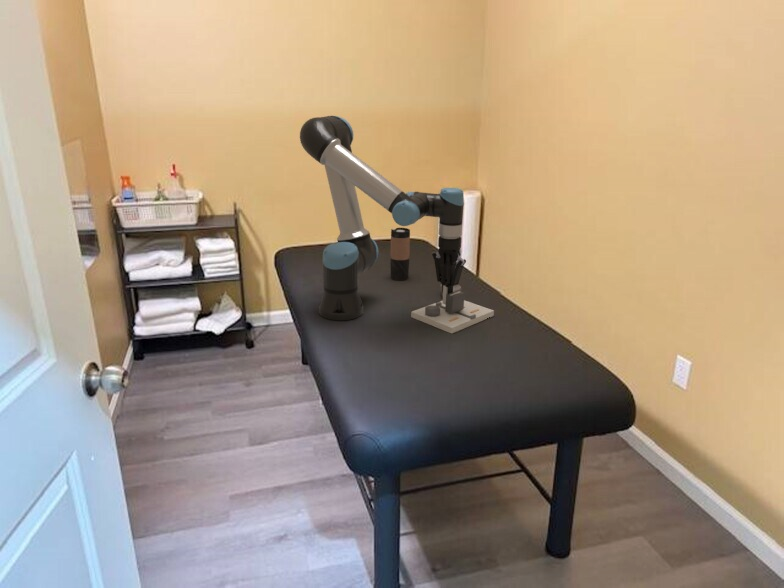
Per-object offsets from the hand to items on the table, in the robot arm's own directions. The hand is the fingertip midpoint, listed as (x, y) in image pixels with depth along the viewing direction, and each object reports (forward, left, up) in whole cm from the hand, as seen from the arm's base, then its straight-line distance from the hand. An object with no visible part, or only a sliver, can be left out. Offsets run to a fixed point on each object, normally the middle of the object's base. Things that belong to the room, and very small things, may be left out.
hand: (446, 302), depth 195 cm
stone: (+14, +11, -4) cm, 19 cm away
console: (0, -3, -4) cm, 5 cm away
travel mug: (+15, +38, -4) cm, 41 cm away
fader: (0, -4, -2) cm, 4 cm away
